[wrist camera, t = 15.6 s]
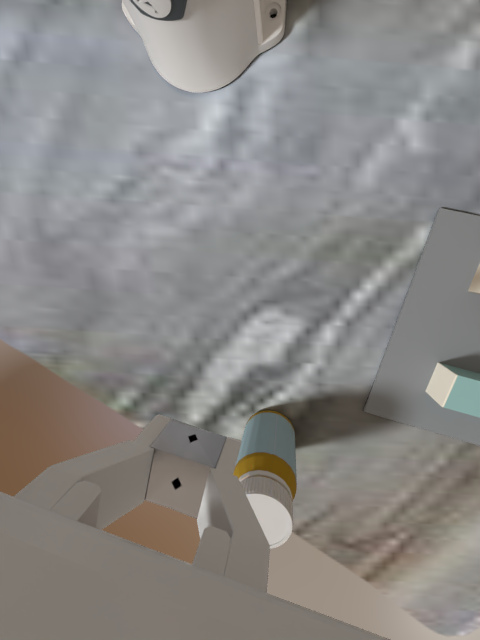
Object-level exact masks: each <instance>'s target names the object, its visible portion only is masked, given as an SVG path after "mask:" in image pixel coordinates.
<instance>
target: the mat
mask: <svg viewBox="0 0 480 640" xmlns="http://www.w3.org/2000/svg"><path fill="white" fill-rule="evenodd" d="M479 264H480V216H477V215H472V214H468V213H463V212H458V211H453V210H448V209H443V208H439V209H438V212H437V214H436V217H435V220H434V222H433V225H432V228H431V230H430V233H429V236H428V238H427V241H426V244H425V246H424V249H423V252H422V254H421V257H420V260H419V262H418V265H417V268H416V271H415V273H414V276H413V279H412V281H411V284H410V287H409V289H408V292H407V295H406V297H405V300H404V303H403V305H402V308H401V311H400V313H399V316H398V319H397V321H396V324H395V327H394V329H393V332H392V335H391V337H390V340H389V343H388V345H387V348H386V351H385V353H384V356H383V359H382V361H381V364H380V367H379V370H378V372H377V375H376V378H375V380H374V383H373V386H372V388H371V391H370V394H369V396H368V399H367V402H366V404H365V407H364V410H363V411H364V412H366V413H369V414H373V415H376V416H380V417H383V418H386V419H390V420H393V421H397V422H400V423H404V424H407V425H410V426H414V427H417V428H421V429H424V430H428V431H431V432H434V433H438V434H441V435H445V436H448V437H452V438H455V439H458V440H462V441H465V442H469V443H472V444H476V445H479V446H480V418H479V417H476V416H472V415H469V414H465V413H461V412H458V411H454V410H451V409H447V408H444V407H441V406H440V405H439V404H438V403H437V402H436V401H435V400H434V399H433V398H432V397H431V396H430V395H429V394H428V393H427V392H426V389H427V386H428V384H429V382H430V379H431V377H432V375H433V372H434V370H435V367H436V365H437V363H442V364H446V365H450V366H453V367H457V368H461V369H465V370H468V371H472V372H476V373H480V294H478V293H474V292H470V291H468V290H469V287H470V285H471V282H472V280H473V278H474V275H475V273H476V271H477V268H478V266H479Z"/></svg>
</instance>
